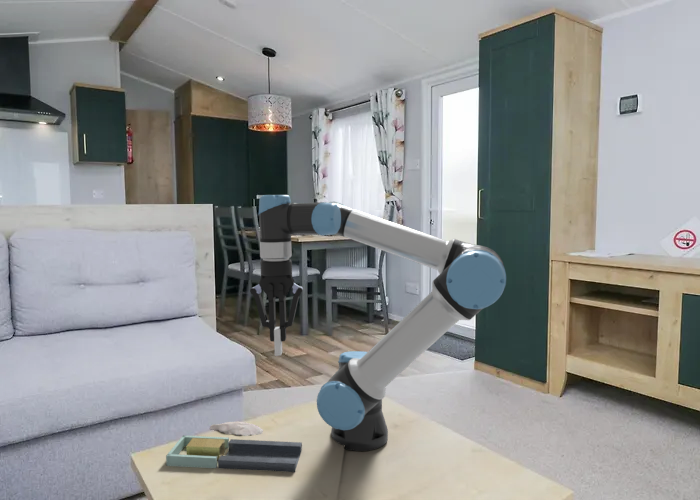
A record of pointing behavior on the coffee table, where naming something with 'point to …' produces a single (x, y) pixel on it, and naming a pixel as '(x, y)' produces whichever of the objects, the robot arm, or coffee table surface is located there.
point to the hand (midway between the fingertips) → (278, 353)
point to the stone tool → (237, 428)
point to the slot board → (261, 455)
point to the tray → (191, 460)
